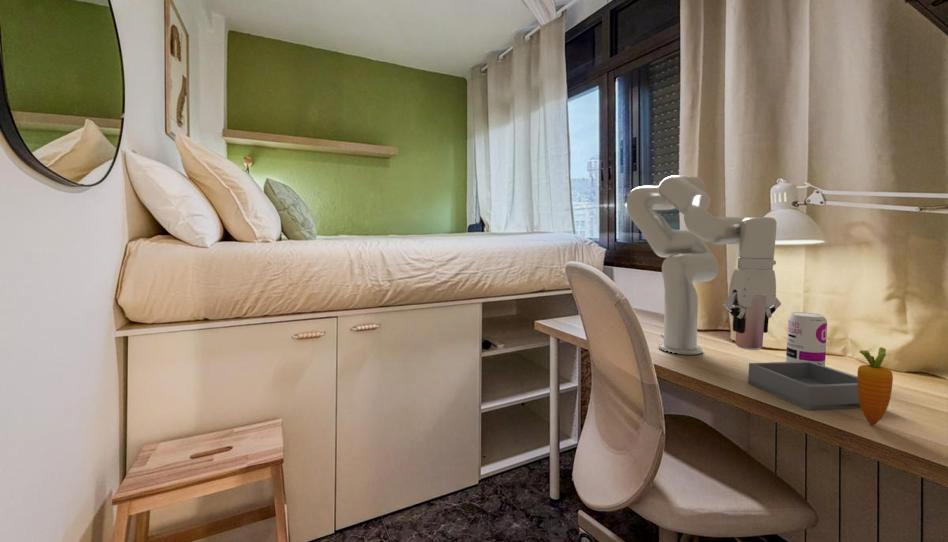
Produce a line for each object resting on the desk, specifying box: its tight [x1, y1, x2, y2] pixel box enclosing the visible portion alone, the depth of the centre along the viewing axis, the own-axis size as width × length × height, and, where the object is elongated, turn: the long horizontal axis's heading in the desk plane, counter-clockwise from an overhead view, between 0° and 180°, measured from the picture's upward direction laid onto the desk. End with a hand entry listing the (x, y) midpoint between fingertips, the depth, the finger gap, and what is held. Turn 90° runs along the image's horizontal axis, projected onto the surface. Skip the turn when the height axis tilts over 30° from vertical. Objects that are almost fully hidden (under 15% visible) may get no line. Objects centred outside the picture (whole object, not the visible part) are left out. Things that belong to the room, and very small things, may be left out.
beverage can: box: [734, 294, 766, 351], centre depth 102 cm, size 6×6×15 cm
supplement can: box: [785, 311, 828, 366], centre depth 106 cm, size 8×8×15 cm
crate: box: [747, 361, 861, 411], centre depth 88 cm, size 16×16×5 cm
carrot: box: [856, 346, 894, 426], centre depth 73 cm, size 5×5×15 cm
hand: (749, 331), depth 102 cm, fingers closed on beverage can, 5 cm apart
